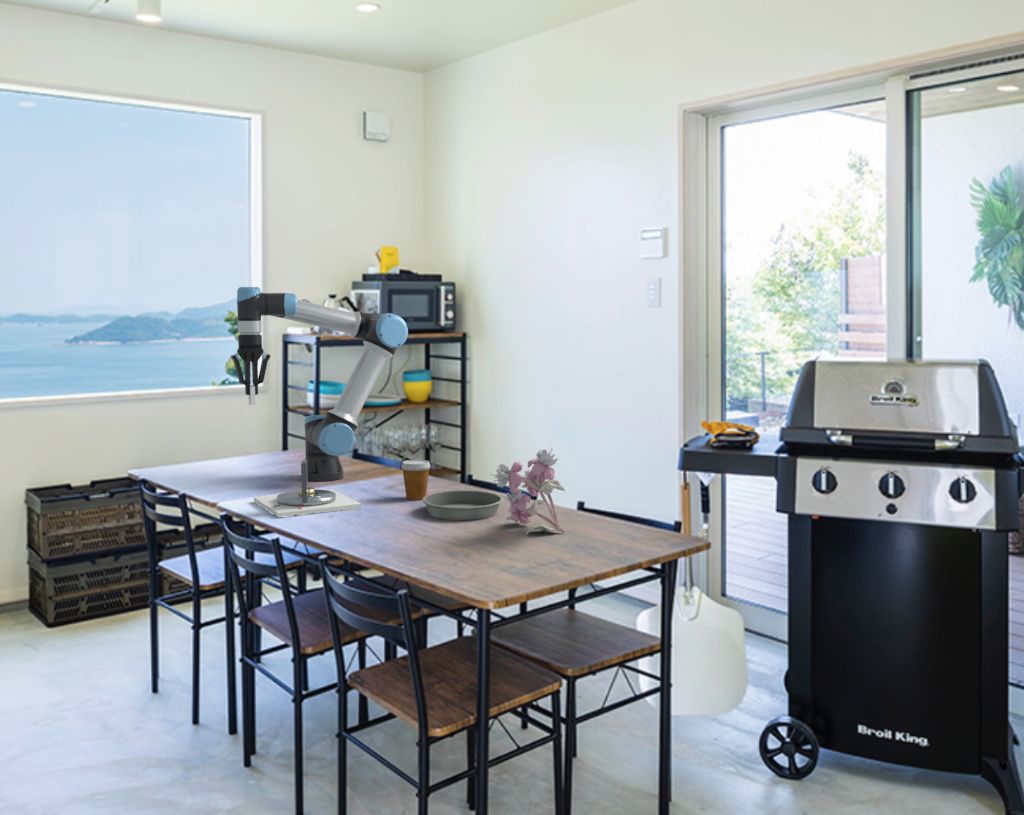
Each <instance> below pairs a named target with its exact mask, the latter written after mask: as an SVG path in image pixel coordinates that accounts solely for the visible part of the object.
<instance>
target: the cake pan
mask: <svg viewBox="0 0 1024 815" xmlns="http://www.w3.org/2000/svg"><path fill="white" fill-rule="evenodd" d="M421 501H422V502H423V504H425V506H426V510H427V514H428V515H429V516H432V517H433V518H438V519H443V520H454V521H456V520H457V521H459V520H460V521H461V520H463V521H466V520H478V519H479V520H481V519H485V518H490V517H493V516H495V515H497V514H498V512H499V507H500V504H501V503H503V501H504V498H503V496H501V495H500V494H498V493H494V492H489V491H481V490H469V489H468V490H465V489H462V490H461V489H460V490H447V491H438V492H433V493H430V494H426V496H425V497H423V499H422V500H421Z"/></svg>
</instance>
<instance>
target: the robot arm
mask: <svg viewBox="0 0 1024 815" xmlns="http://www.w3.org/2000/svg"><path fill="white" fill-rule="evenodd" d="M236 295H237V296H236V308H237V332H238V336H237V338H238V340H237V342H238V344H237V345H238V348H237V350H236V353H234V354H231V355H230V359H231V360H232V362H233V365H234V368H235V371H236V375H237V378H238V381H239V383H240V384H242V385H244V388H245V396H248V405H250V406H256V395H257V396H258V394H259V384H263V383H264V380H265V376H266V371H267V366H268V362H269V360H270V358H271V355H270V354H269V353H267V352H265V351H264V349H263V337H262V336H263V335H262V334H261V333H262V332H263V328H262V317H263V316H271V317H276V318H281V319H284V320H290V321H293V322H298V323H302V324H307V325H310V326H315V327H320V328H324V329H327V330H332V331H337V332H341V333H345V334H349V336H350V337H351V338H352V339H353V338H354V339H358V340H360V341H363V342H362V343H363V346H364V349H363V351H362V353H361V354H360V357H359V359H358V361H357V363H356V365H355V366H354V369H353V370H352V372H351V375H350V376H349V378H348V380H347V382H346V384H345V386H344V388H343V390H342V392H341V394H340V396H339V398H338V400H337V402H336V404H335V405H334V408H332V409H330V410H327V411H326V414H315V415H307V416H305V417H304V424H303V425H304V437H305V438H304V440H305V441H304V442H305V444H304V445H305V446H304V447H305V458H304V460H307V474H308V482H309V481H310V482H327V481H335V480H340V479H343V478H344V469H343V468H344V467H343V465H342V462H341V460H340V456H343V455H345V454H347V453H348V452H349V451H350V450H351V449H352V447H354V443H355V438H356V437H355V432H356V430H357V428H358V427H359V425H358V421H357V418H359V415H360V413H361V411H362V409H363V407H364V405H365V403H366V401H367V399H368V397H369V395H370V393H371V391H372V389H373V387H374V385H375V383H376V381H377V380H378V377H379V375H380V373H381V371H382V370H383V367H384V365H385V363H386V362H387V359H390V358H394V355H395V353H396V351H397V349H398V348H399V347H401V346H402V345H403V344H404V343H405V342H406V341H407V338H408V335H409V329H408V325H407V323H406V321H405V320H404V319H403V317H401V316H399V315H397V314H394V313H391V312H388V313H381V312H379V313H370V312H369V313H367V312H362V311H355V312H350V311H345V310H341V309H337V308H333V307H328V306H325V305H321V304H316V303H313V302H308V301H304V300H299V299H298V298H297V295H296V293H293V292H292V293H291V292H290V293H288V292H262V291H261V288H260V287H258V286H240V287H238V289H237V291H236ZM240 358H241V359H242V361H243V369H244V372H243V370H242V367H241V364H240ZM260 358H262V359H261V363H260V368H258V367H259V366H258V365H259V360H260ZM258 369H259V370H258ZM243 373H244V374H243ZM251 375H252V376H251ZM251 377H252V378H251ZM251 379H252V380H251ZM251 381H252V384H251Z"/></svg>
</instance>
